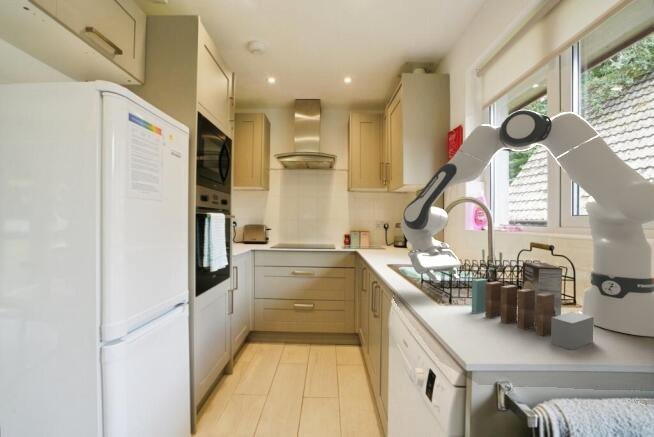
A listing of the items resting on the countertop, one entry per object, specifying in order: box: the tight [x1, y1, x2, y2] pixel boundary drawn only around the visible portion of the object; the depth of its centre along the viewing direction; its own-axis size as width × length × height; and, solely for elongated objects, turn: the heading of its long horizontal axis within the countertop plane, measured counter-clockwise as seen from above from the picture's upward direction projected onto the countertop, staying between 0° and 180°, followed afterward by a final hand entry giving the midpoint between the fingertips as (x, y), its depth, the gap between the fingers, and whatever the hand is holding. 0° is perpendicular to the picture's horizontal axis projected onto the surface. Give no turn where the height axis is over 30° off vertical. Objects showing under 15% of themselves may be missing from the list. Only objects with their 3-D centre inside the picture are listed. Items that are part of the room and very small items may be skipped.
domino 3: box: [500, 284, 519, 324], centre depth 80 cm, size 2×5×10 cm, turn 116°
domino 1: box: [471, 278, 488, 314], centre depth 88 cm, size 2×5×10 cm, turn 116°
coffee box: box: [521, 261, 563, 324], centre depth 81 cm, size 9×6×16 cm
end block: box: [550, 311, 594, 351], centre depth 66 cm, size 10×4×6 cm, turn 116°
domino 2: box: [484, 281, 503, 319], centre depth 84 cm, size 2×5×10 cm, turn 116°
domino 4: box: [516, 289, 535, 330], centre depth 76 cm, size 2×5×10 cm, turn 116°
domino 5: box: [535, 293, 554, 337], centre depth 72 cm, size 2×5×10 cm, turn 116°
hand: (448, 281), depth 98 cm, fingers open, 8 cm apart
